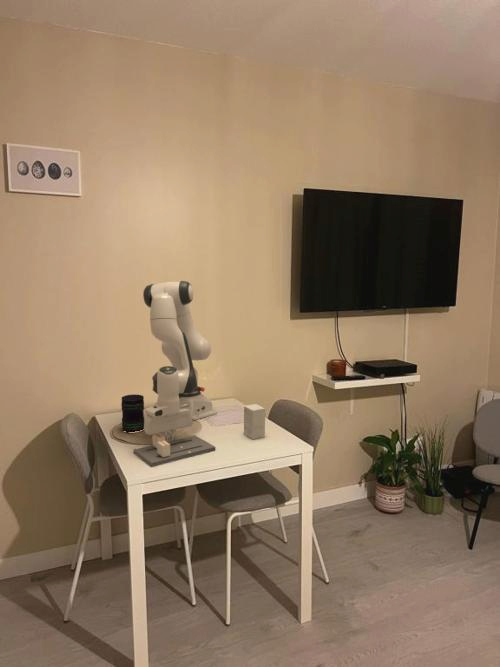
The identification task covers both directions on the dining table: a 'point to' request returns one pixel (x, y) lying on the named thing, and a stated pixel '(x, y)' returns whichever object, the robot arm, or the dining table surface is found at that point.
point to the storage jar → (132, 413)
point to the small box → (254, 421)
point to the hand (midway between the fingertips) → (169, 440)
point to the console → (175, 450)
